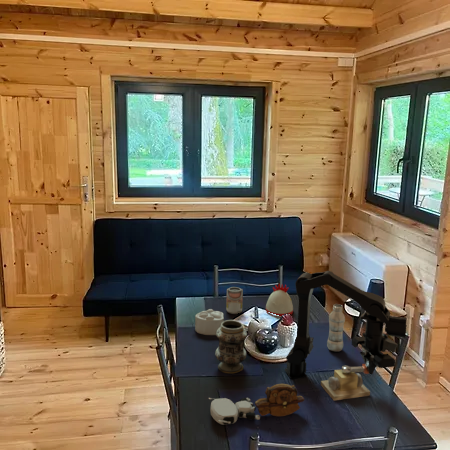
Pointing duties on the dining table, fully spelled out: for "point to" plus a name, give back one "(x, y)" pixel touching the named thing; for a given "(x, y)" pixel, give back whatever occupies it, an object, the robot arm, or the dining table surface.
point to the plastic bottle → (336, 328)
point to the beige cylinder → (234, 300)
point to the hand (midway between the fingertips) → (370, 374)
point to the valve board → (345, 393)
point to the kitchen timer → (279, 302)
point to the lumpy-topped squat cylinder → (208, 322)
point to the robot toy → (232, 410)
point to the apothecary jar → (231, 346)
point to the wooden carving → (279, 400)
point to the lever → (354, 369)
